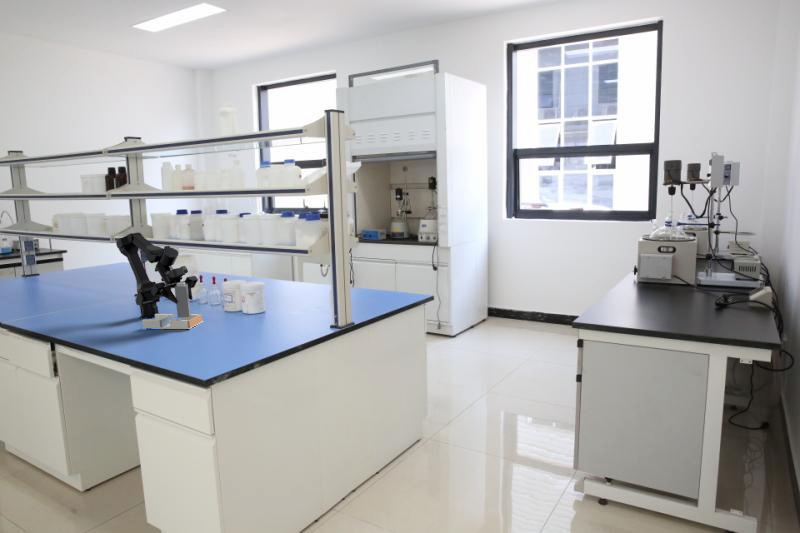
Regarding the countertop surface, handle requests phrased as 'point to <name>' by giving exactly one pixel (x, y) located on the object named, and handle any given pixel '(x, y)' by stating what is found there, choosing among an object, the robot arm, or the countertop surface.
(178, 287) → the grey pedestal with block
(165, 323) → the white tray with rails
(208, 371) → the countertop surface
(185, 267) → the robot arm
